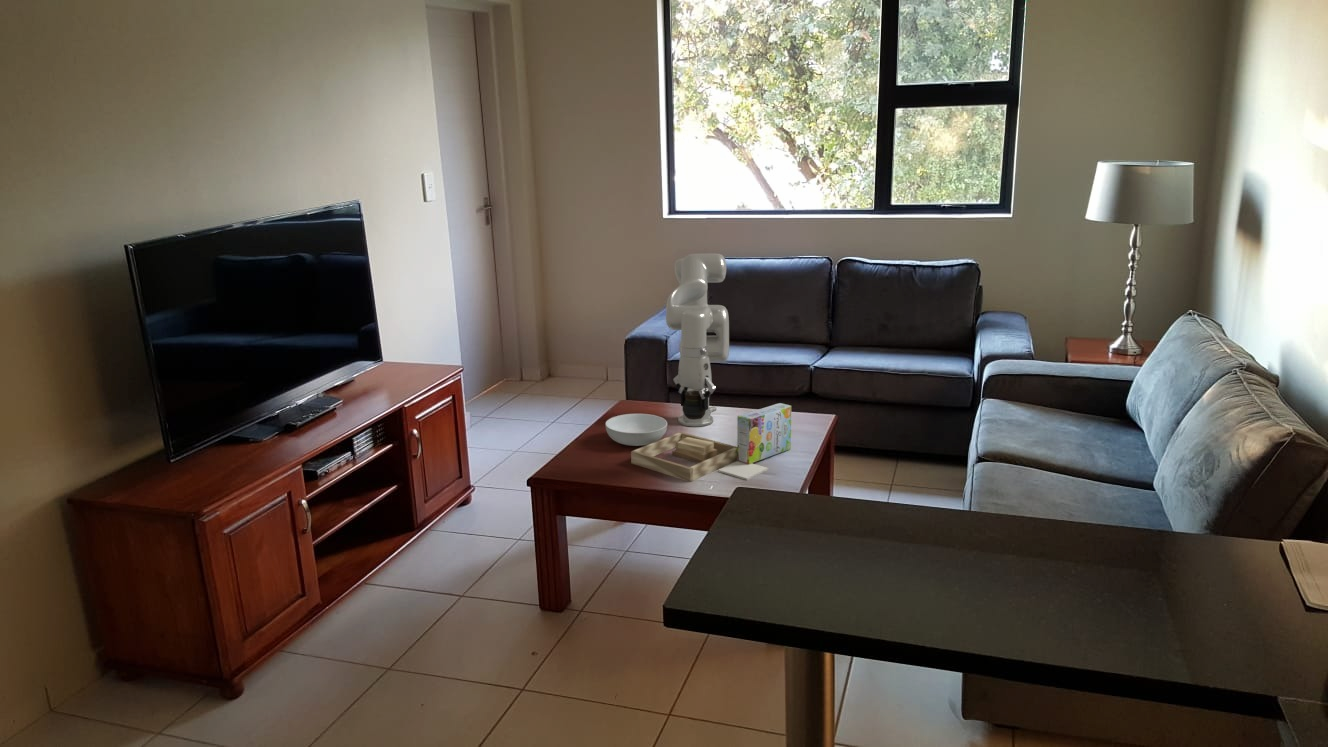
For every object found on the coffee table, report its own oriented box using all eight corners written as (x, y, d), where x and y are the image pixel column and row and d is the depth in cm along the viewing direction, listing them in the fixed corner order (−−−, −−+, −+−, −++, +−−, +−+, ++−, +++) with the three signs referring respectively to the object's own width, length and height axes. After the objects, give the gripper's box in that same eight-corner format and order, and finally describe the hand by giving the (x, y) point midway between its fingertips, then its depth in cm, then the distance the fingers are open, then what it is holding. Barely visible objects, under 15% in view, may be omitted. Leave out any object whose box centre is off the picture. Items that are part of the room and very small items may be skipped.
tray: (681, 443, 304) (681, 431, 303) (739, 459, 288) (739, 447, 287) (631, 463, 286) (631, 451, 285) (690, 481, 270) (690, 469, 269)
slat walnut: (686, 451, 298) (686, 445, 297) (719, 461, 289) (719, 455, 288) (672, 457, 293) (672, 451, 292) (705, 467, 284) (705, 461, 283)
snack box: (777, 445, 299) (779, 402, 296) (791, 449, 296) (793, 405, 292) (735, 460, 285) (736, 414, 281) (749, 465, 281) (750, 418, 278)
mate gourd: (711, 417, 278) (711, 386, 275) (694, 423, 272) (694, 391, 270) (693, 412, 282) (693, 381, 280) (677, 418, 277) (676, 387, 275)
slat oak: (689, 446, 296) (689, 441, 296) (717, 455, 288) (717, 449, 288) (676, 451, 292) (676, 446, 291) (703, 460, 284) (703, 454, 283)
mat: (739, 461, 286) (739, 459, 286) (768, 469, 279) (768, 467, 279) (718, 471, 278) (718, 469, 278) (746, 480, 271) (746, 478, 271)
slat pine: (687, 442, 295) (687, 437, 294) (713, 447, 289) (713, 442, 289) (677, 447, 290) (677, 442, 289) (704, 453, 285) (703, 447, 284)
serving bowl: (641, 456, 292) (641, 436, 290) (593, 444, 304) (592, 425, 302) (679, 439, 308) (679, 420, 306) (632, 428, 320) (631, 409, 318)
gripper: (724, 353, 269) (724, 410, 273) (680, 345, 280) (681, 399, 285) (707, 358, 263) (708, 416, 268) (664, 349, 275) (665, 405, 280)
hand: (694, 407), depth 277 cm, fingers closed on mate gourd, 7 cm apart
